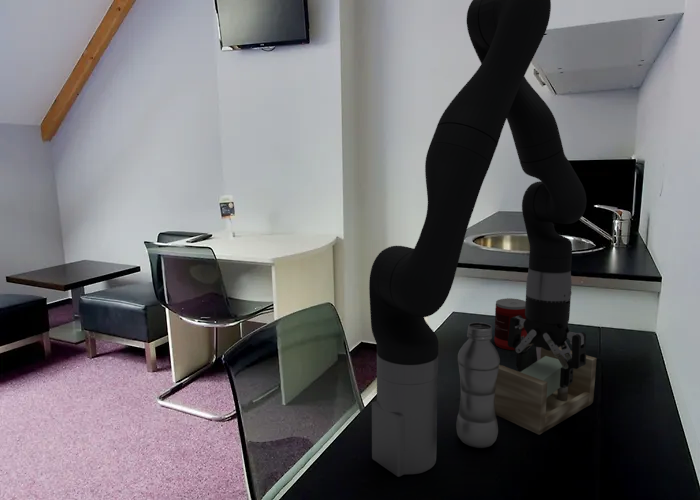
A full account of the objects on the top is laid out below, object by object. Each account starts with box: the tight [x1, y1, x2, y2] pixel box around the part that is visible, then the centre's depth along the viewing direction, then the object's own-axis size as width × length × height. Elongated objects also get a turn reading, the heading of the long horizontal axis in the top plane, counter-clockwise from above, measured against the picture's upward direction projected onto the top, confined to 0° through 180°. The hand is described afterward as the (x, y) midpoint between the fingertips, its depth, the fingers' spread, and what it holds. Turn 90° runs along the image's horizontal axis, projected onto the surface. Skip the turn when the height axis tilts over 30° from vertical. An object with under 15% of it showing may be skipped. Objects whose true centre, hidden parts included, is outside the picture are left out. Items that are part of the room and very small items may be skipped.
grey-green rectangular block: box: [521, 356, 562, 397], centre depth 94 cm, size 12×4×4 cm, turn 135°
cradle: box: [495, 347, 598, 436], centre depth 94 cm, size 18×10×9 cm, turn 128°
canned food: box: [493, 297, 528, 351], centre depth 126 cm, size 8×8×11 cm
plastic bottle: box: [455, 321, 501, 449], centre depth 82 cm, size 6×7×20 cm
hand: (543, 378), depth 94 cm, fingers open, 8 cm apart
